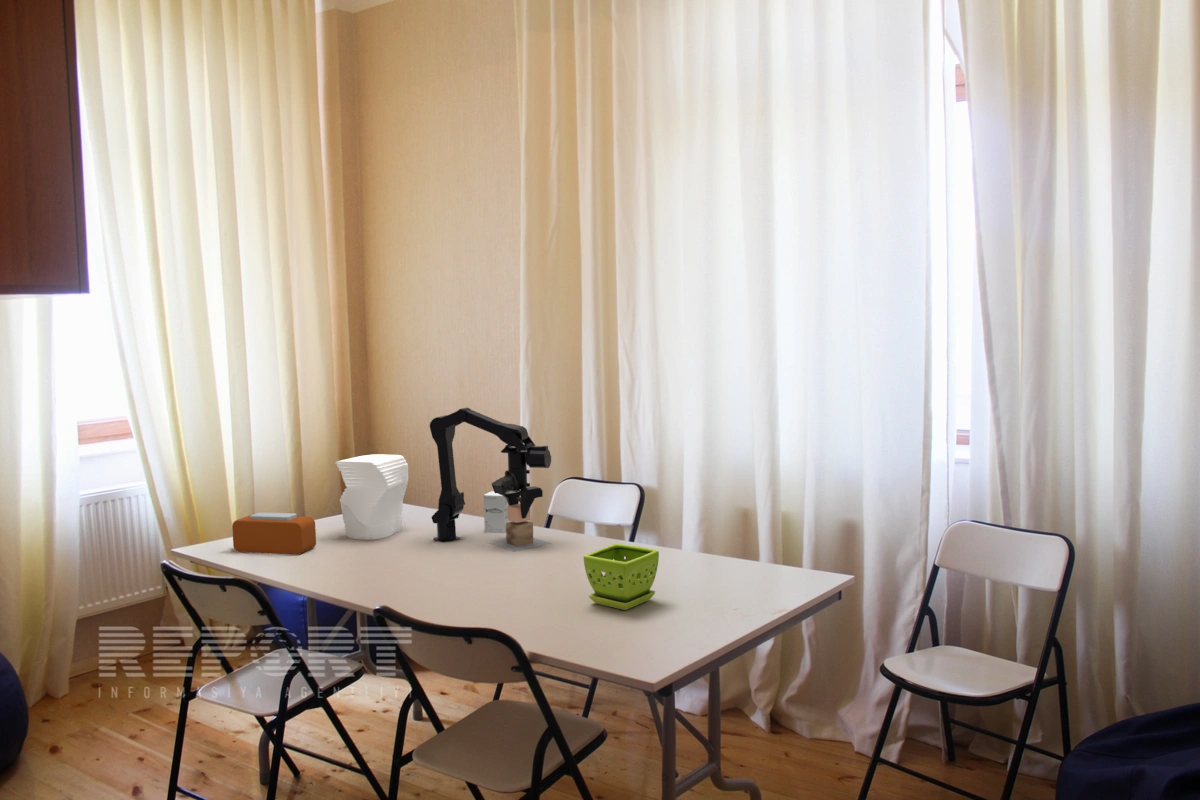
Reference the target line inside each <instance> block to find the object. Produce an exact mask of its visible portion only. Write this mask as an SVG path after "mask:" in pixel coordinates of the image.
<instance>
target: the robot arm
mask: <svg viewBox="0 0 1200 800" xmlns="http://www.w3.org/2000/svg"><path fill="white" fill-rule="evenodd" d="M462 423H466V424H469V425H471V426H473V427H476V428H478V429H481V430H482V431H485V432H488V433H490V434H492V435H494V436H496V437H497V438H498V439H499V440H500V441H501V442H503V443H504V444H506V445H505V446H504V448H503V449H502V450H501V451H500V453H502V454H507V470H505V472H504V476H501V477H500V478H498V479H496V480H495V481H493V482H492V483H491V486H492V489H493V490H492V491H494V492H495V493H498V494H500V495H502V496H504V497H505V498H506V499H507V502H508V504H509V506H510V505H515V504H520V507H521V515H522V518H523V519H524V518H526V516H527V514H528V511H529V509H530V510H531V506H532V505H533V503H534V501H535V499H537V498H543V496H544V494H543V493H544V491H543V489H542V488H541V487H539V486H534V485H533V486H531V483H530V482H528V474H530V472H531V471H530V469H531V468H532V469H534V468H536V469H549V468H550V467H551V465H552V455H551V451H550V450H549V446H548V445H541V446H539V445H536V444H535V443H534V441H533V440H532V439H531V437H530V436H529V433H528V429H527V428H526V427H525V426H524V425H523V426H522V425H518V424H514V423H506V422H502V421H499V420H496V419H494V418H492V417H489V416H487V415H484V414H483V413H480V412H477V411H475V410H474V409H471V408H470V407H462V408H459V409H458V410H456V411H454V412H452V413H450V414H445V415H441V416H437V417H434V418H432V420H431V421H430V422H429V429H430V430H429V431H430V434H431V437H432V439H433V441H434V443H435V445H436V447H437V458H438V467H439V477H440V478H439V479H440V486H441V487H440V488H441V491H440V495H439V497H438V503H437V504H438V506H437V507H438V508H437V510H436V512H434V514H432V516H431V517H430V518H431V520H432V523H433V524H436V534H437V536H436V537H433V538H432V539H433V541H434V540H435V541H437V542H440V543H447V542H453V541H459V540H461V537H459V536H457V531H456V529H457V528H456V519H458V518H459V517H460V514H461V513H462V512H463V510H464V507H465V505H466V502H465V492H464V491H462V492H460V490H459V489H458V488H457V481H456V479H457V478H456V469H455V461H454V460H455V459H454V449H453V441H454V438H455V436H456V427H457V426H459V425H461V424H462ZM527 466H528V467H529V468H530V469H527V468H528V467H527Z"/></svg>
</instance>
